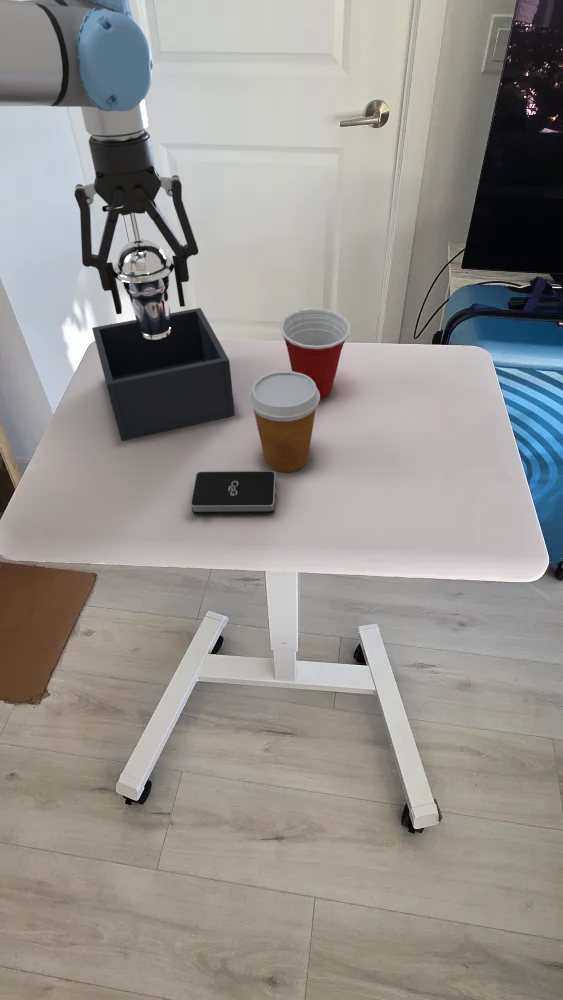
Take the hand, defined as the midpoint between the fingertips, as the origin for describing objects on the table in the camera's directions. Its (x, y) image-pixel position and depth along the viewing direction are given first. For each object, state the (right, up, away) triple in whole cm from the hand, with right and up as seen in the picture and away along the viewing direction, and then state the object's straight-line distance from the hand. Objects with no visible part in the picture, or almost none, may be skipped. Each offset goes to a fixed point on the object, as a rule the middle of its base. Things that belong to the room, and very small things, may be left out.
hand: (150, 306), depth 92 cm
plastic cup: (+25, -11, +11) cm, 29 cm away
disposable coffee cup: (+20, -23, -1) cm, 30 cm away
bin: (+1, -12, +11) cm, 16 cm away
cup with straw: (0, -3, +3) cm, 5 cm away
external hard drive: (+13, -29, -7) cm, 32 cm away
